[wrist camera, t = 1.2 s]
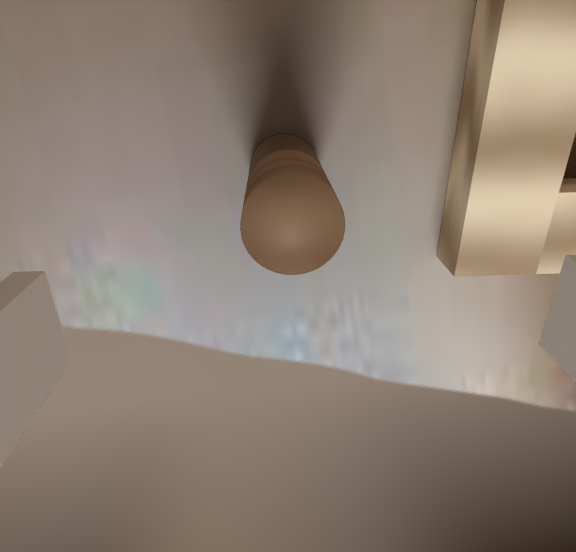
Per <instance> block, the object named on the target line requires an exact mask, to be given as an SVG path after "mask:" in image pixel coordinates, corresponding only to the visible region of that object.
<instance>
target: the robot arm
mask: <svg viewBox="0 0 576 552" xmlns="http://www.w3.org/2000/svg"><path fill="white" fill-rule="evenodd" d="M539 345H540V346H541V347H542V348H543V349H544V350H545V351H546V352H547V353H548V354H549V355H550V356H551V357H552V358H553V359H554V360H555V361H556V362H557V363H558V364H559V366H560V367H561V368H562V369H563V370H564V371H565V372H566V373H567V374H568V375H569V376H570V377H571V378H572V379H573V380H574V381H575V382H576V255H565V258H564V262H563V265H562V268H561V271H560V275H559V278H558V281H557V285H556V288H555V291H554V294H553V298H552V301H551V304H550V308H549V311H548V314H547V317H546V321H545V324H544V327H543V331H542V334H541V337H540V341H539ZM71 361H72V359H71V356H70V353H69V349H68V346H67V343H66V339H65V336H64V333H63V330H62V326H61V323H60V320H59V317H58V313H57V310H56V307H55V303H54V300H53V297H52V294H51V290H50V287H49V284H48V281H47V277H46V274H45V271H33V272H13V273H11V274H10V275H9V276H8V277H6V278H5V279H4V280H3V281H1V282H0V467H1V466H2V464H3V463H4V461H5V460H6V458H7V457H8V455H9V454H10V452H11V451H12V449H13V448H14V446H15V445H16V443H17V442H18V440H19V439H20V437H21V436H22V434H23V433H24V431H25V430H26V428H27V427H28V426H29V424H30V422H31V421H32V419H33V418H34V416H35V415H36V414H37V412H38V410H39V409H40V408H41V406H42V405H43V403H44V402H45V400H46V398H47V397H48V396H49V394H50V393H51V391H52V390H53V388H54V387H55V385H56V384H57V382H58V381H59V379H60V378H61V376H62V375H63V373H64V372H65V370H66V369H67V367H68V366H69V364H70V363H71Z"/></svg>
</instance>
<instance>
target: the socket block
mask: <svg viewBox="0 0 576 552" xmlns="http://www.w3.org/2000/svg"><path fill="white" fill-rule="evenodd" d="M575 133H576V0H477V3H476V9H475V16H474V22H473V28H472V35H471V41H470V47H469V54H468V60H467V66H466V73H465V79H464V85H463V92H462V98H461V104H460V111H459V117H458V123H457V130H456V136H455V142H454V149H453V155H452V161H451V168H450V174H449V180H448V187H447V193H446V199H445V206H444V212H443V218H442V225H441V231H440V237H439V244H438V250H437V257H438V258H439V260H440V261H441V262H442V263H443V264H444V265H445V266H446V268H447V269H448V270H449V271H450V272H451V273H452V275H453V276H454V277H458V276H489V275H519V274H549V273H560V271H561V268H562V265H563V262H564V258H565V255H576V178H563V176H564V173H565V169H566V165H567V162H568V158H569V155H570V151H571V148H572V144H573V140H574V137H575Z"/></svg>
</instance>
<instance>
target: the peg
mask: <svg viewBox="0 0 576 552" xmlns="http://www.w3.org/2000/svg"><path fill="white" fill-rule="evenodd" d="M240 230H241V237H242V240H243V243H244V245H245V248H246V249H247V251H248V253H249V254H250V255H251V256H252V258H253V259H254V260H255V261H256V262H257V263H259V264H260V265H261V266H263V267H265V268H266V269H268V270H271V271H273V272H276V273H280V274H286V275H297V274H303V273H308V272H310V271H313V270H315V269H317V268H319V267H321V266H322V265H324V264H325V263H326V262H328V261H329V260H330V259H331V258H332V257H333V256H334V254H335V253H336V252H337V250H338V248H339V247H340V245H341V242H342V240H343V236H344V232H345V217H344V212H343V209H342V206H341V204H340V202H339V200H338V198H337V196H336V194H335V192H334V190H333V188H332V186H331V184H330V182H329V180H328V178H327V176H326V174H325V172H324V170H323V168H322V166H321V164H320V163H319V161H318V159H317V157H316V155H315V153H314V151H313V149H312V148H311V146H310V145H309V144H308V143H307V142H306V141H305V140H303V139H302V138H300V137H298V136H295V135H291V134H277V135H274V136H271V137H269V138H267V139H266V140H264V141H263V142H262V143H261V144H260V145H259V146H258V147H257V148H256V150H255V152H254V154H253V156H252V160H251V165H250V170H249V176H248V182H247V187H246V193H245V199H244V204H243V210H242V216H241V223H240Z"/></svg>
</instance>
